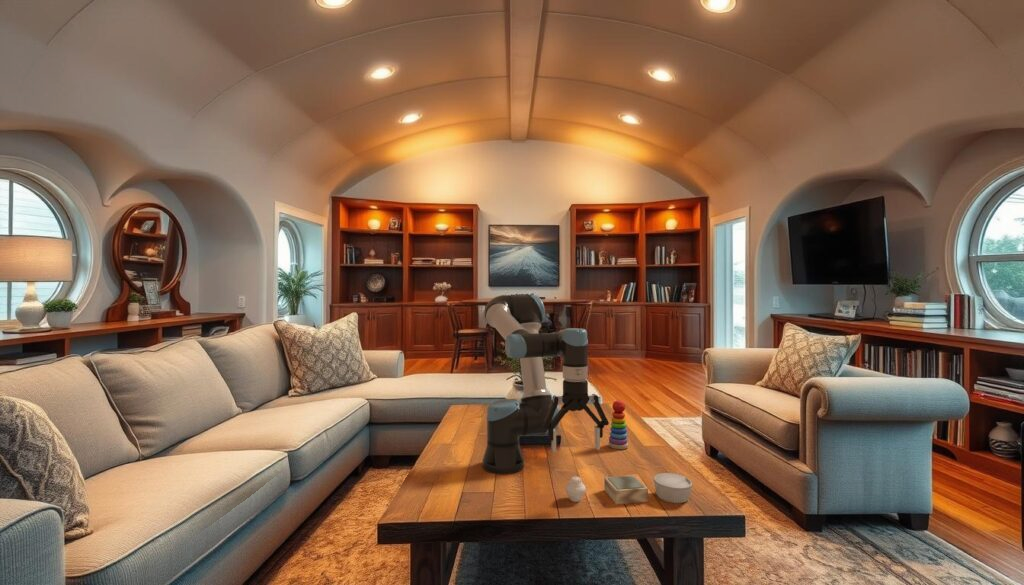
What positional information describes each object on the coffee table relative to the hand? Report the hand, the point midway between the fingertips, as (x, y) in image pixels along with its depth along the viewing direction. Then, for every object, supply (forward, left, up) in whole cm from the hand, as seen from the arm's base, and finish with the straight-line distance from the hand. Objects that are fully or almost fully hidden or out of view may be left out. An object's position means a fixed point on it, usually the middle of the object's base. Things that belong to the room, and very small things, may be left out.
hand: (575, 449), depth 141 cm
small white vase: (0, 0, -15) cm, 15 cm away
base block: (+16, 0, -15) cm, 22 cm away
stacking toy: (+31, +43, -15) cm, 55 cm away
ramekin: (+30, -3, -16) cm, 34 cm away
